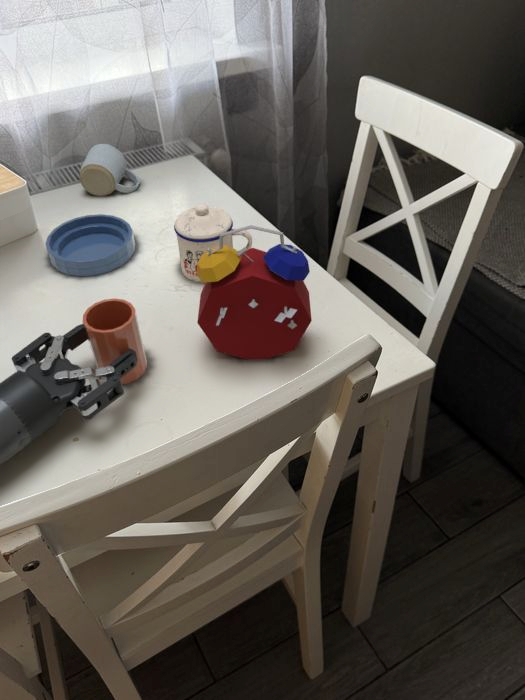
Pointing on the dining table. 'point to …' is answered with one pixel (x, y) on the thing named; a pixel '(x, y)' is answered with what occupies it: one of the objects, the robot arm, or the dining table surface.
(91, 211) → the dining table surface
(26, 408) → the robot arm
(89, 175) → the ceramic mug
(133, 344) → the cup
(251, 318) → the alarm clock
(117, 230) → the bowl
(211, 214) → the teacup with lid
